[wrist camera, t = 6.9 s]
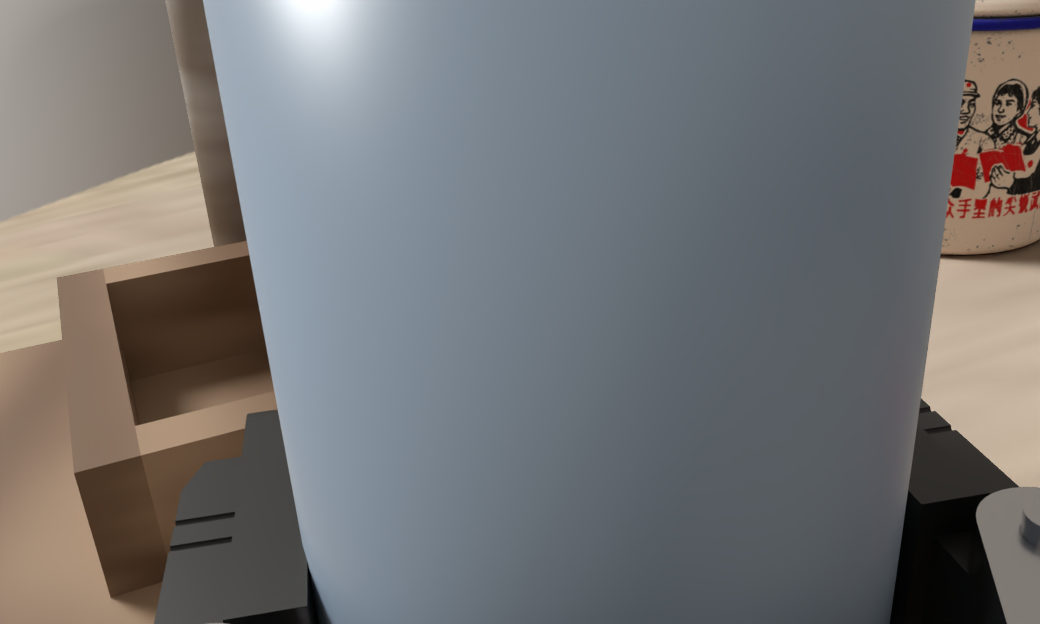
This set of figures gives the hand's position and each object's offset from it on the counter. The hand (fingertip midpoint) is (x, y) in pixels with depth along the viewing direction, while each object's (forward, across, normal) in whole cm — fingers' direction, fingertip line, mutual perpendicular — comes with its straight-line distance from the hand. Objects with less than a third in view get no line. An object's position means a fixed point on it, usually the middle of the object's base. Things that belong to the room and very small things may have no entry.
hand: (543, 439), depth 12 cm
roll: (-3, 0, +8) cm, 8 cm away
